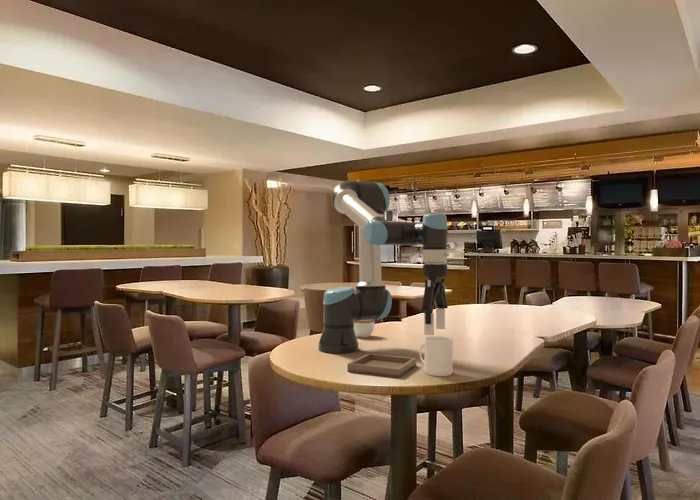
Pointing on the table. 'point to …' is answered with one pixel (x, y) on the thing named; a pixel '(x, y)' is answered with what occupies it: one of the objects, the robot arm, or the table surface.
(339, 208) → the robot arm
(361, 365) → the tray
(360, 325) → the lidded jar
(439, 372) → the mug
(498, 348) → the table surface
